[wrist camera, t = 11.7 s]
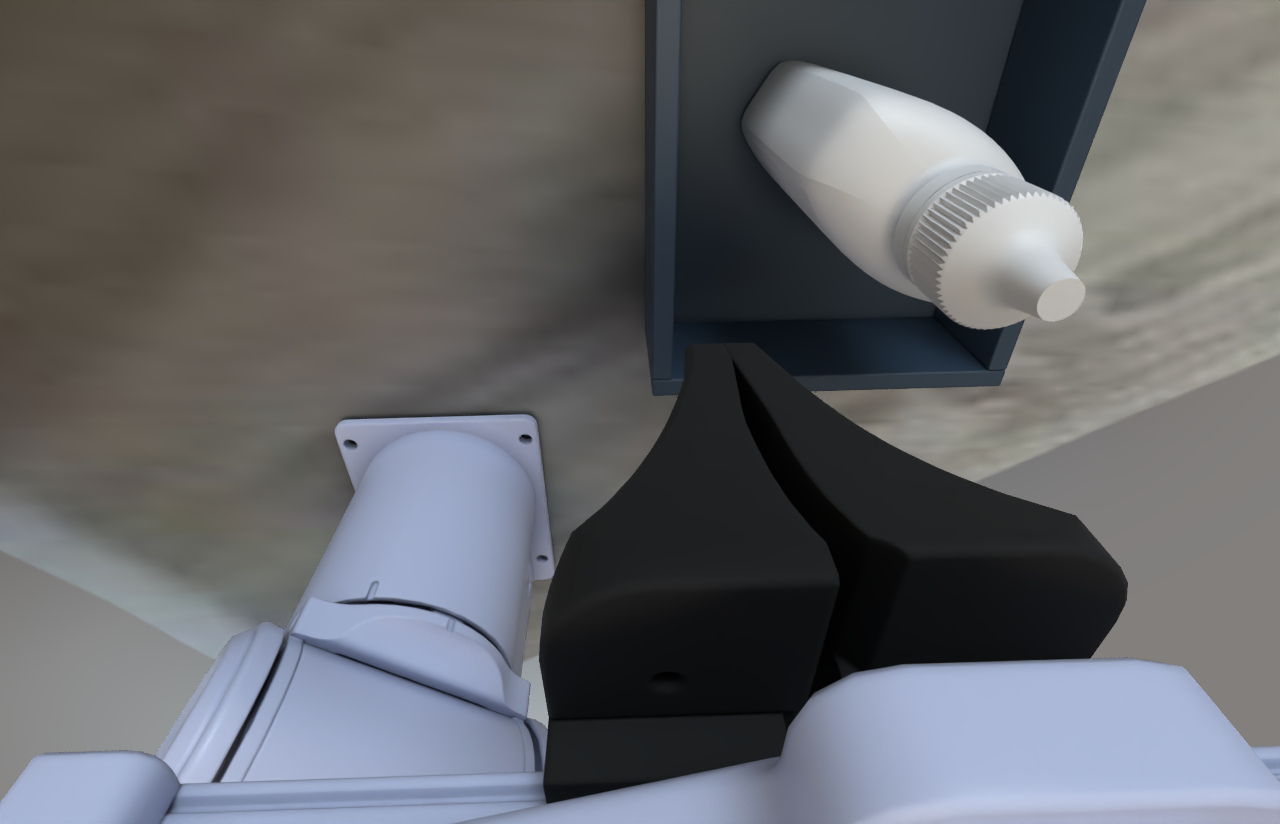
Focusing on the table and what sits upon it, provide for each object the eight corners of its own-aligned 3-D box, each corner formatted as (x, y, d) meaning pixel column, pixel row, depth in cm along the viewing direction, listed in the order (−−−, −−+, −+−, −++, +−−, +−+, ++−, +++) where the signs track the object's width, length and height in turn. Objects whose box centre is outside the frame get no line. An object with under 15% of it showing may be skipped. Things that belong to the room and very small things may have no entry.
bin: (937, 324, 23) (1000, 386, 20) (645, 332, 23) (652, 396, 19) (1072, -134, 16) (1214, -174, 12) (644, -134, 16) (656, -175, 12)
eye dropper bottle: (789, 253, 21) (954, 481, 11) (724, 91, 18) (865, 204, 8) (915, 189, 20) (1220, 378, 10) (866, 7, 17) (1226, 19, 7)
